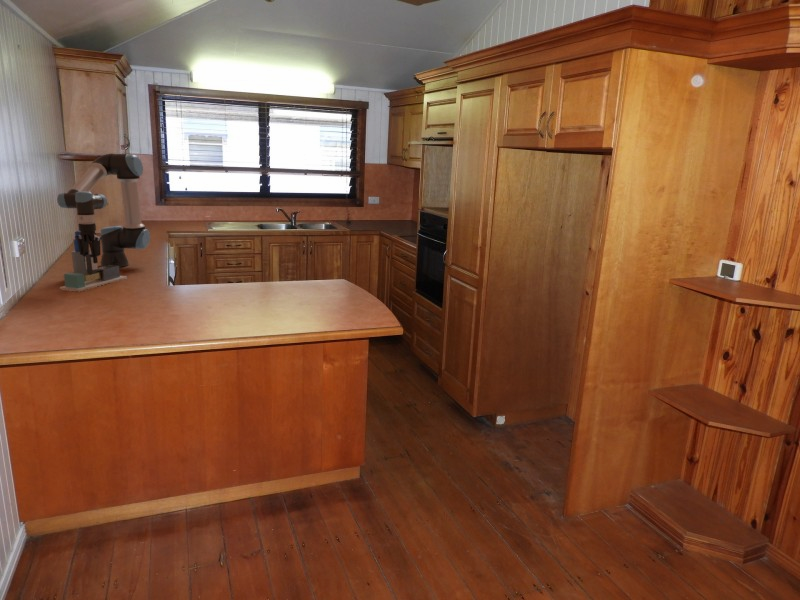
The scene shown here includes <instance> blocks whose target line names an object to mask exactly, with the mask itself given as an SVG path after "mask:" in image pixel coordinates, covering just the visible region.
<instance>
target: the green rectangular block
mask: <svg viewBox="0 0 800 600" xmlns="http://www.w3.org/2000/svg"><path fill="white" fill-rule="evenodd" d="M63 278H64V286H65V287H70V288H82V287H85V281H84V274H80V273H74V272H67V273H64V274H63Z"/></svg>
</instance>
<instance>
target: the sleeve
mask: <svg viewBox="0 0 800 600" xmlns="http://www.w3.org/2000/svg"><path fill="white" fill-rule="evenodd" d="M97 268H98V269H97V271H102V278H99V279H95V280H100V281H106V280H110V279H113V278H117V277H120V276H121V274H120V273H121V272H120V267H119V266H116V265H107V266H103V267H101V266H99V267H98V266H97Z"/></svg>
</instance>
